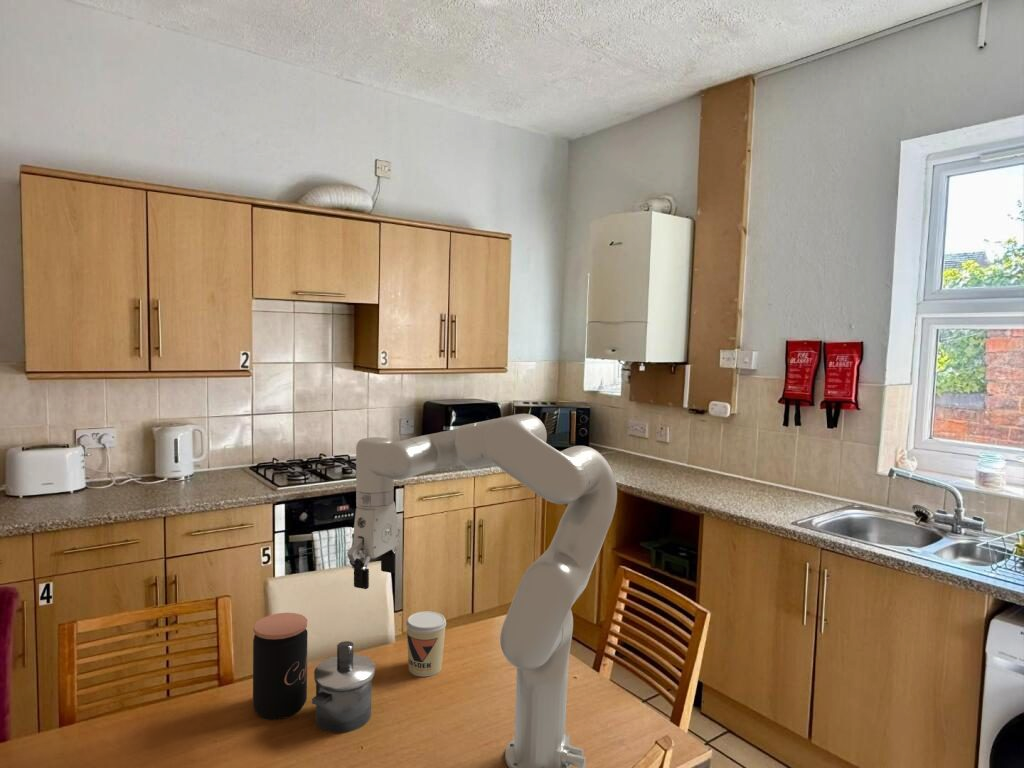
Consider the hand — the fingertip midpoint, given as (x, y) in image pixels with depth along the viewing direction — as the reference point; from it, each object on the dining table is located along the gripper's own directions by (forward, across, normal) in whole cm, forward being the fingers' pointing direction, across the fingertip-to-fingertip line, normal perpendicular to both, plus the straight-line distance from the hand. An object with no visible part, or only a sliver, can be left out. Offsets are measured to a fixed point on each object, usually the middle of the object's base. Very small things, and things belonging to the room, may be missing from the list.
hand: (375, 579), depth 132 cm
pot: (+28, -5, +4) cm, 29 cm away
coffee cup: (+28, +19, -1) cm, 34 cm away
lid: (+19, -5, +4) cm, 20 cm away
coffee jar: (+28, -7, +19) cm, 34 cm away
